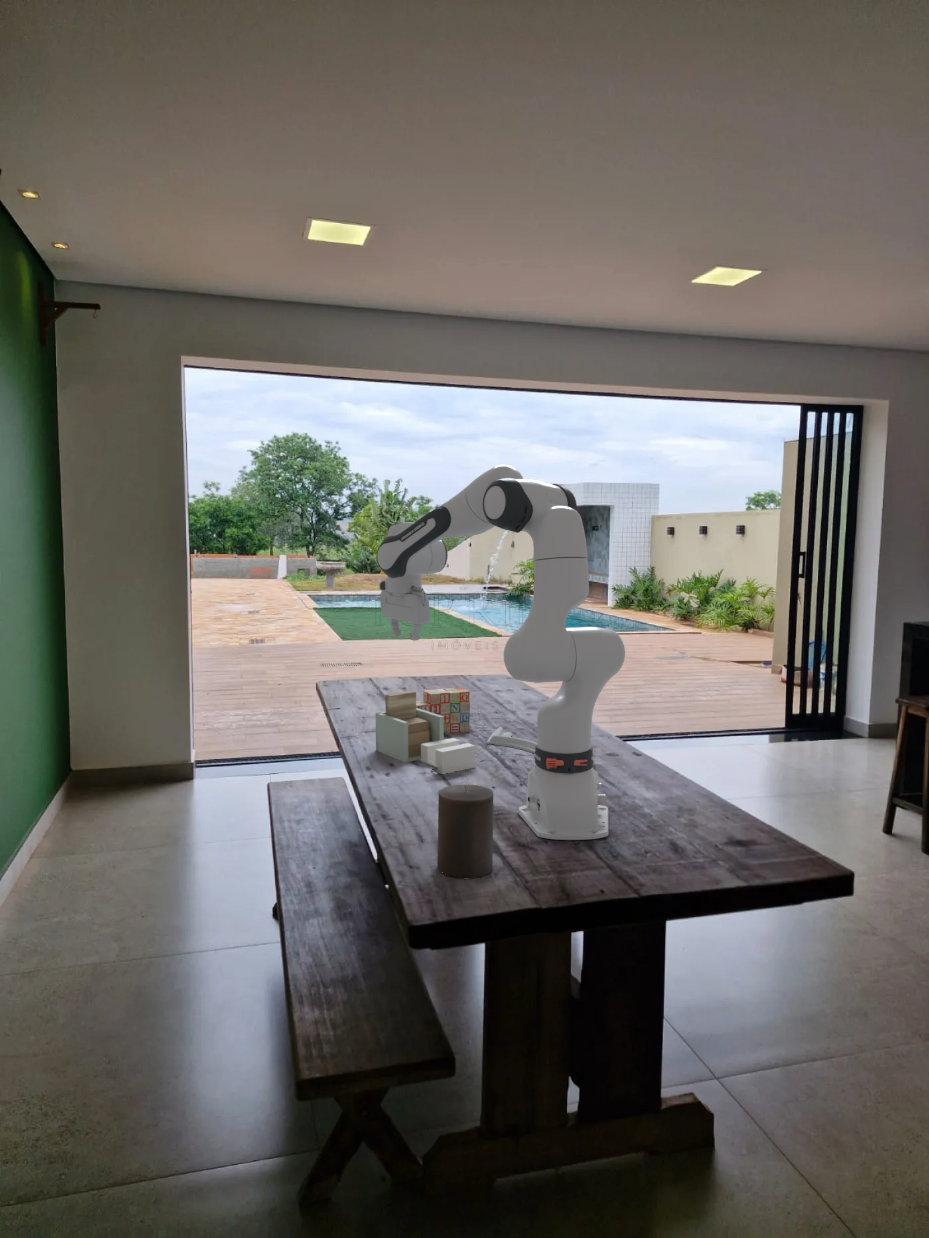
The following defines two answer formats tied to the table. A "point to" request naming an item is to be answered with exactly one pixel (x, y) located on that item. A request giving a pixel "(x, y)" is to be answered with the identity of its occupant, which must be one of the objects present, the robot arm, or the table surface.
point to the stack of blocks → (448, 707)
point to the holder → (448, 755)
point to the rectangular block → (401, 705)
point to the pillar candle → (465, 831)
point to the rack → (407, 734)
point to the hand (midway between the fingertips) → (405, 637)
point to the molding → (512, 741)
